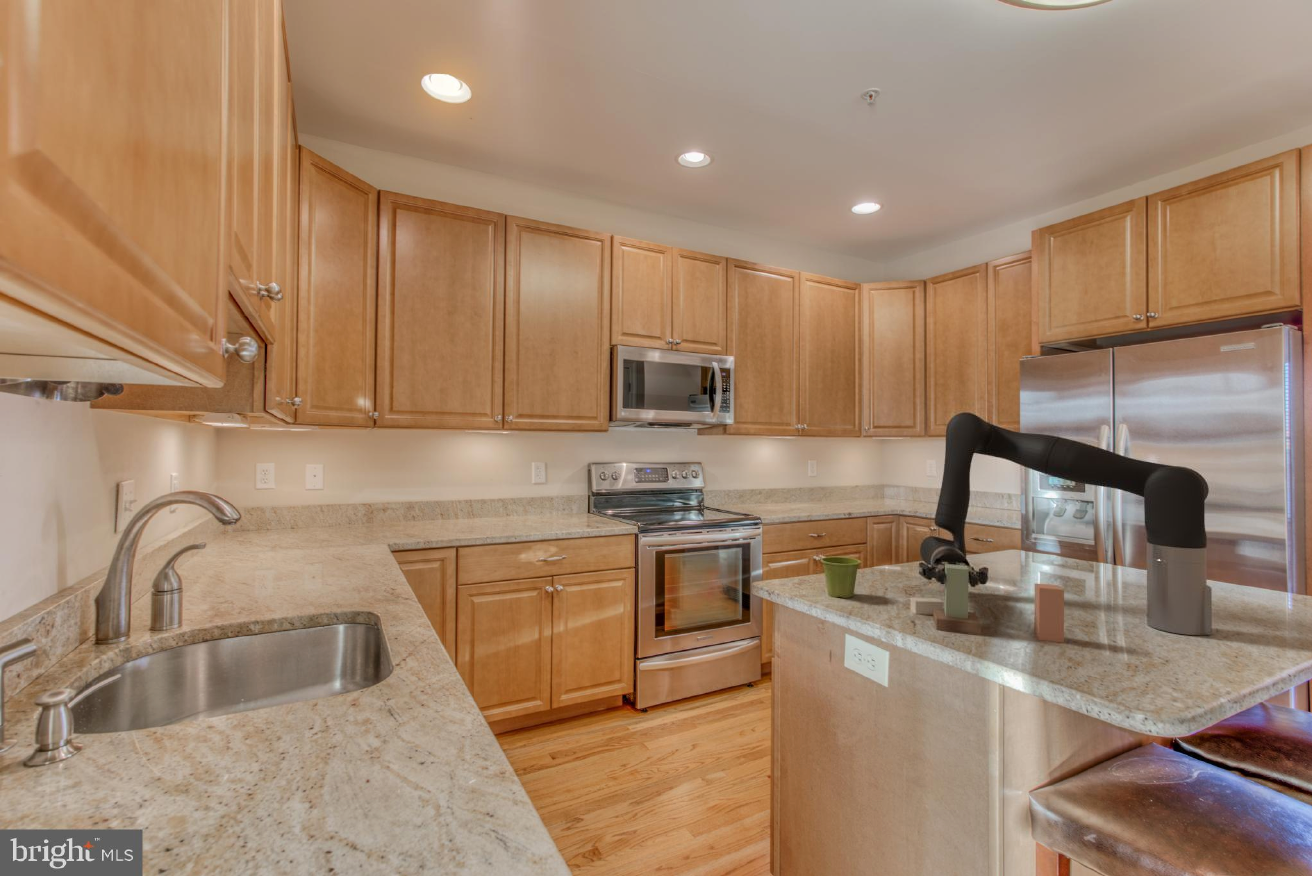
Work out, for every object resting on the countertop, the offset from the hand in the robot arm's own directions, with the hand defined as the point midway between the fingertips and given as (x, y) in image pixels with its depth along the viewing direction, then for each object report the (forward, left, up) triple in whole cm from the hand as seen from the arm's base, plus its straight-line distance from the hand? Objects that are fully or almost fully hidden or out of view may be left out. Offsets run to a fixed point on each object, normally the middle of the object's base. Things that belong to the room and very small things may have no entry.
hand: (958, 580), depth 119 cm
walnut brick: (0, -3, -11) cm, 11 cm away
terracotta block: (-16, -2, -10) cm, 19 cm away
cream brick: (+5, -12, -10) cm, 16 cm away
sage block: (0, -3, -8) cm, 8 cm away
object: (+24, -20, -10) cm, 33 cm away
